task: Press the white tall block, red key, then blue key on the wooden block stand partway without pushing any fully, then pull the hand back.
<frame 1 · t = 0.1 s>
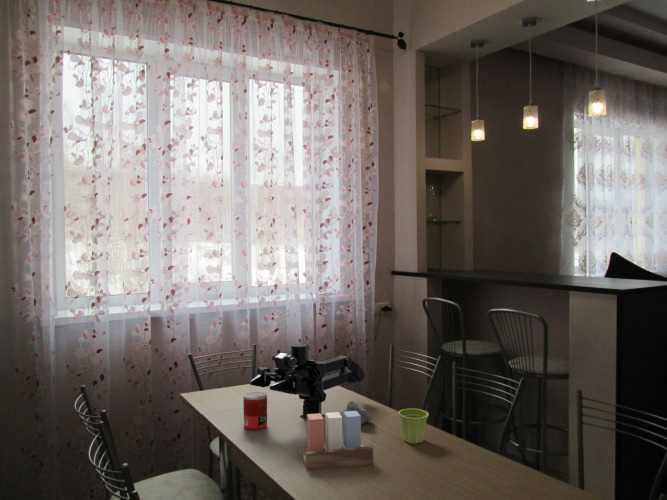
hand: (259, 385, 172), 17 cm above the table, tool horizontal, fingers open, 9 cm apart
canned food: (255, 427, 182), on the table
white tall block: (333, 432, 157), point 7 cm above the table, slide at 0.0 cm
plant pot: (413, 441, 169), on the table
fossil: (358, 424, 185), on the table
blue key: (351, 430, 158), point 7 cm above the table, slide at 0.0 cm
red key: (315, 433, 156), point 7 cm above the table, slide at 0.0 cm
wooden block stand: (335, 457, 155), on the table
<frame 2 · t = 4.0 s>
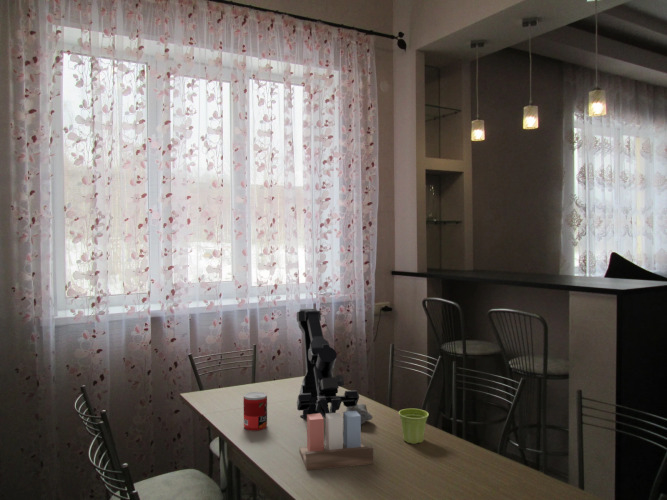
hand: (332, 425, 159), 8 cm above the table, tool tilted 45°, fingers closed, pressing on white tall block
white tall block: (334, 432, 157), point 7 cm above the table, slide at 0.5 cm, touching gripper
everything else where it was.
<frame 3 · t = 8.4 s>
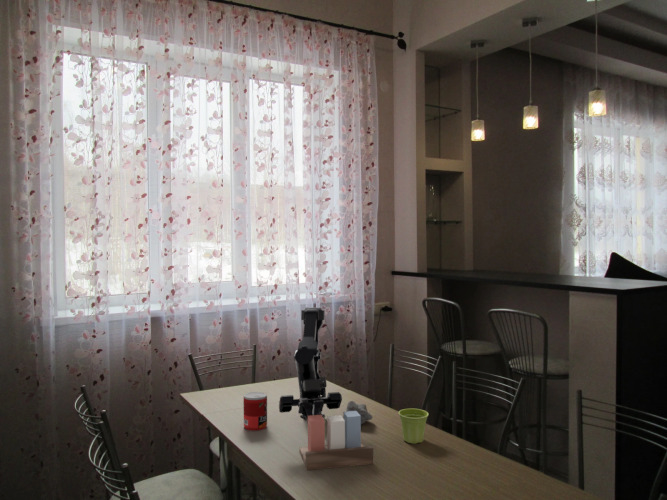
hand: (313, 428, 157), 8 cm above the table, tool tilted 45°, fingers closed, pressing on red key
white tall block: (335, 435, 154), point 7 cm above the table, slide at 2.9 cm
red key: (316, 435, 155), point 7 cm above the table, slide at 1.3 cm, touching gripper
everything else where it was.
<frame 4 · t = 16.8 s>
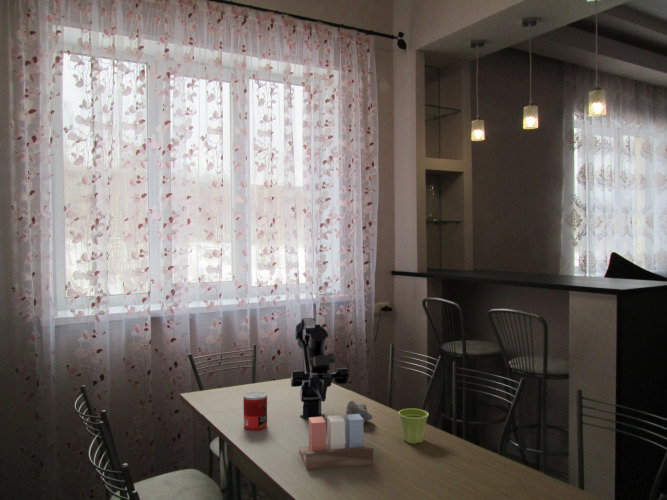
hand: (323, 400, 169), 13 cm above the table, tool tilted 45°, fingers closed
blue key: (354, 434, 155), point 7 cm above the table, slide at 3.0 cm
red key: (317, 437, 153), point 7 cm above the table, slide at 3.0 cm
everything else where it was.
at the end: white tall block slide at 2.9 cm; red key slide at 3.0 cm; blue key slide at 3.0 cm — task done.
